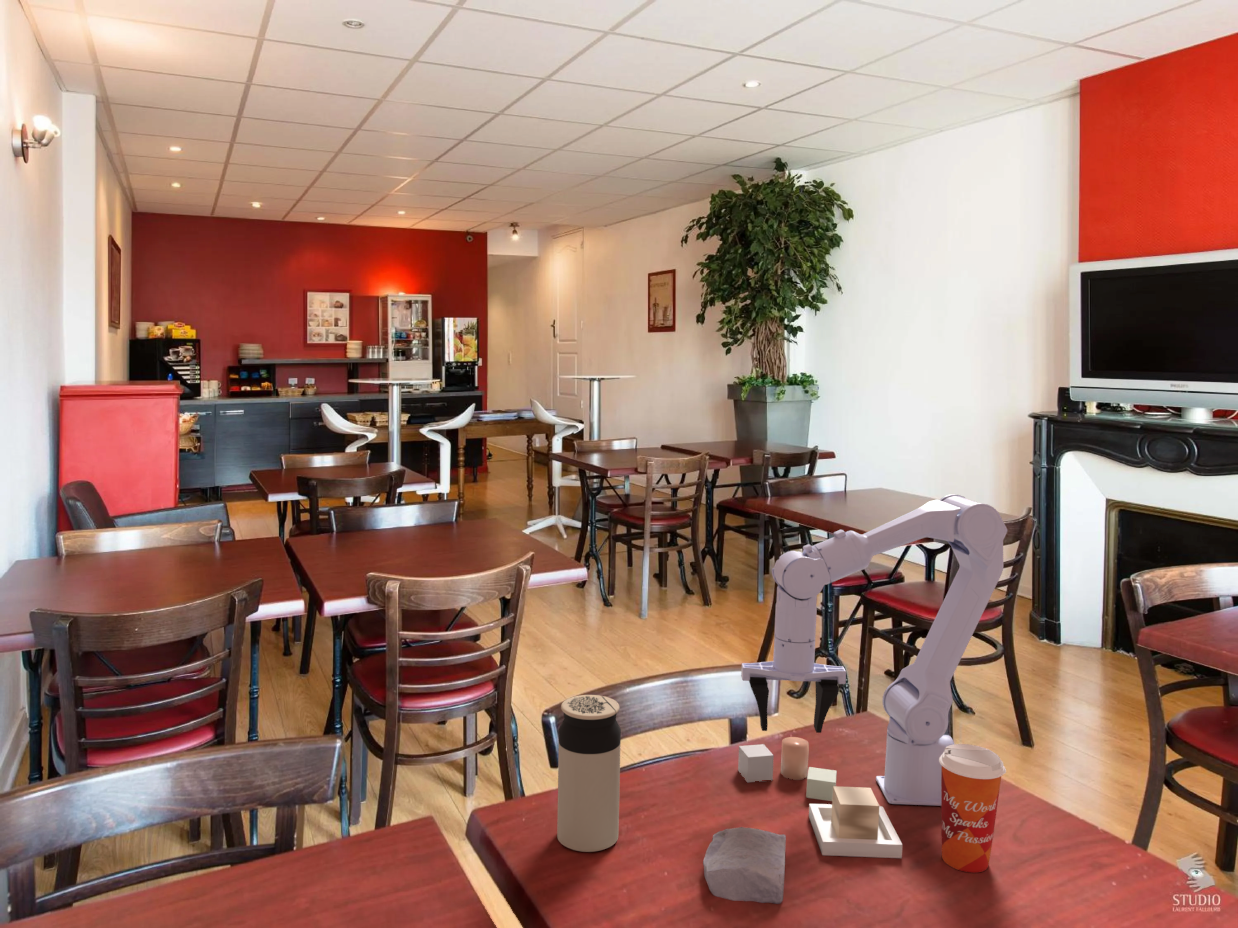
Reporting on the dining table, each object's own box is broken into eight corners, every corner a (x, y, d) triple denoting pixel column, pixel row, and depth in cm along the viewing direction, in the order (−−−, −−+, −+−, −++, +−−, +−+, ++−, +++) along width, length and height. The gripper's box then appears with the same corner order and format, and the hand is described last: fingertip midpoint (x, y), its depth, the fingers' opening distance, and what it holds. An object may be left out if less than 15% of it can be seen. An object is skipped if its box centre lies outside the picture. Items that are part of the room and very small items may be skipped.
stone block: (704, 912, 106) (790, 907, 105) (697, 872, 106) (783, 866, 104) (712, 862, 118) (790, 856, 116) (706, 826, 118) (784, 819, 116)
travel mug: (561, 856, 114) (564, 718, 112) (553, 824, 122) (555, 695, 120) (624, 851, 116) (627, 714, 114) (611, 820, 123) (614, 691, 121)
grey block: (762, 768, 140) (763, 743, 140) (772, 780, 136) (773, 755, 136) (738, 770, 139) (739, 745, 139) (747, 782, 136) (748, 757, 135)
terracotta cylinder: (804, 768, 141) (806, 737, 140) (809, 780, 137) (811, 748, 136) (778, 767, 141) (780, 736, 140) (782, 779, 137) (784, 747, 136)
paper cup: (932, 869, 113) (939, 761, 111) (933, 839, 120) (940, 737, 119) (1000, 883, 110) (1008, 773, 109) (997, 851, 118) (1005, 747, 116)
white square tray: (881, 818, 125) (882, 806, 125) (901, 857, 116) (902, 844, 115) (808, 815, 126) (809, 803, 126) (822, 854, 116) (823, 841, 116)
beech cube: (868, 822, 123) (870, 787, 122) (877, 842, 118) (879, 805, 117) (831, 821, 123) (833, 786, 123) (838, 840, 118) (840, 804, 118)
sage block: (835, 789, 134) (836, 770, 134) (834, 802, 130) (835, 782, 130) (808, 785, 135) (808, 766, 135) (806, 798, 131) (807, 778, 131)
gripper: (746, 644, 125) (742, 738, 127) (852, 647, 125) (847, 742, 126) (741, 628, 132) (737, 718, 134) (841, 632, 132) (837, 722, 133)
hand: (790, 728), depth 131 cm, fingers open, 7 cm apart
